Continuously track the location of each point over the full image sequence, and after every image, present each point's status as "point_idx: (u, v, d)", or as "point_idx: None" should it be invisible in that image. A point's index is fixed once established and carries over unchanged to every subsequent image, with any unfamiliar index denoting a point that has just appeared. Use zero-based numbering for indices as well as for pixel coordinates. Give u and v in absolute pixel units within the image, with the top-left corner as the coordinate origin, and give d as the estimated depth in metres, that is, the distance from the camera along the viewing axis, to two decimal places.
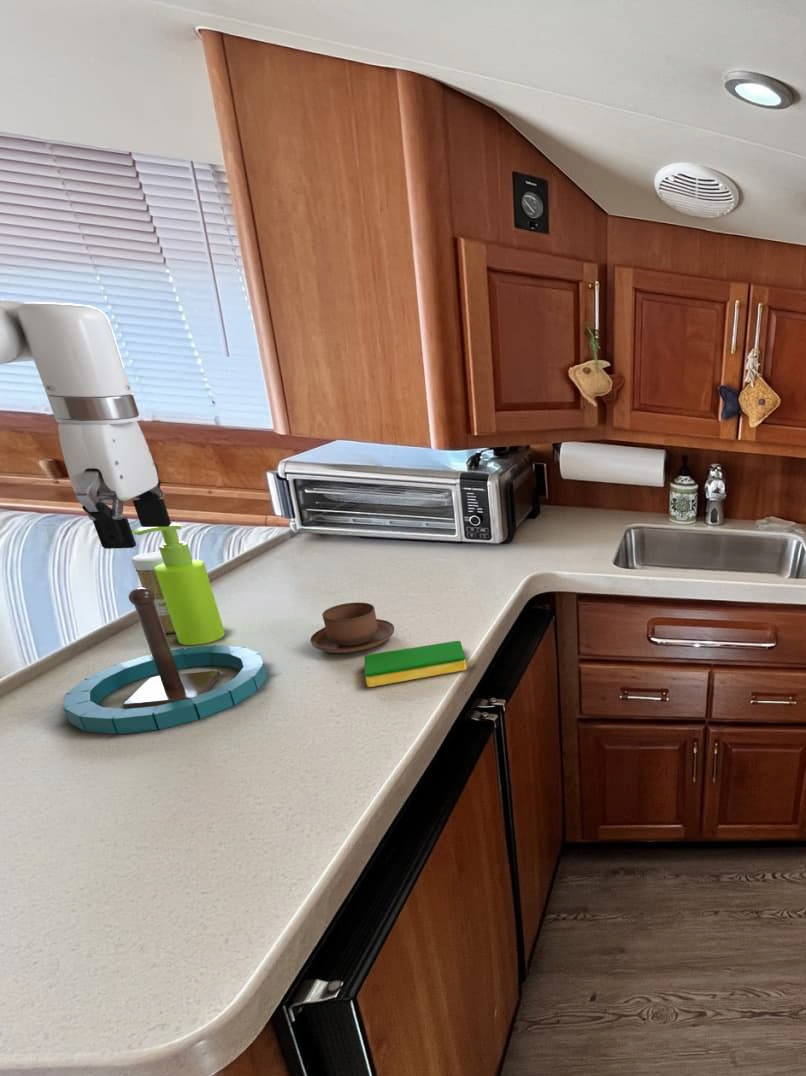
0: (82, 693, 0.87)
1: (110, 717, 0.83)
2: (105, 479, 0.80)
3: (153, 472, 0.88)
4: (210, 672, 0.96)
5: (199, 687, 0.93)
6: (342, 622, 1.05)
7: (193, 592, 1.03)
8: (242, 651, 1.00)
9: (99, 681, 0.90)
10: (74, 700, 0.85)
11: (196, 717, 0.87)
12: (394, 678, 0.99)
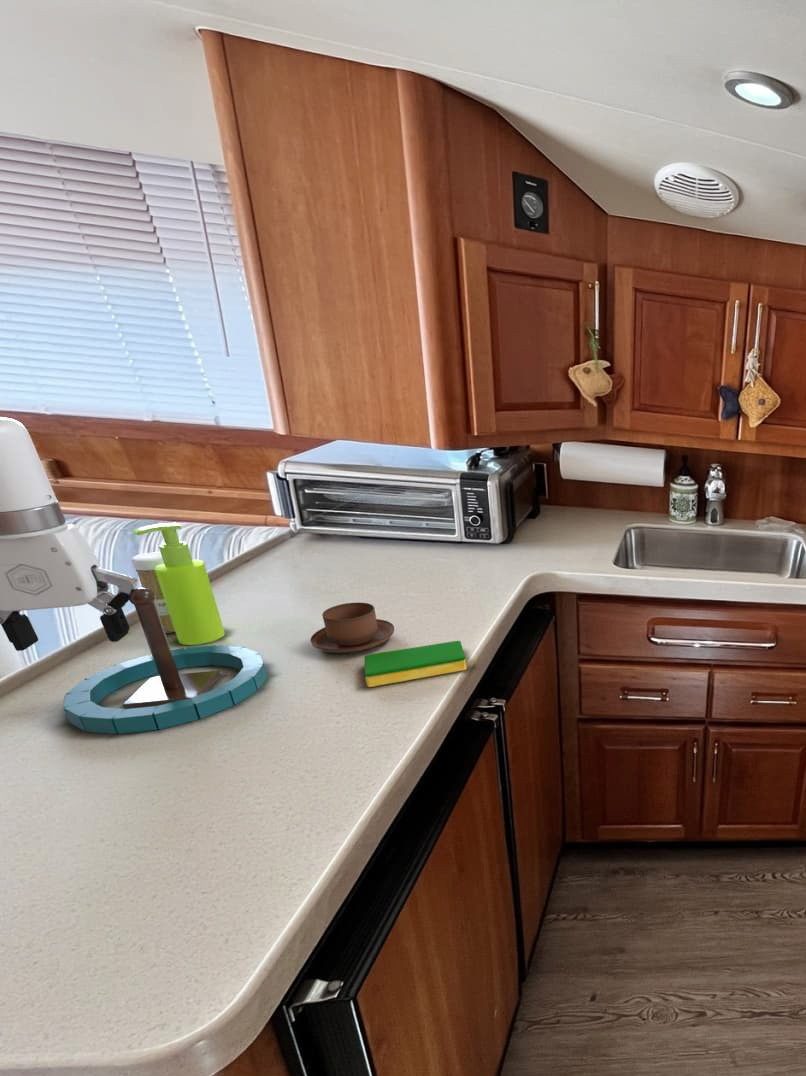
0: (82, 693, 0.87)
1: (110, 717, 0.83)
2: None
3: None
4: (210, 672, 0.96)
5: (199, 687, 0.93)
6: (342, 622, 1.05)
7: (193, 592, 1.03)
8: (242, 651, 1.00)
9: (99, 681, 0.90)
10: (74, 700, 0.85)
11: (196, 717, 0.87)
12: (394, 678, 0.99)
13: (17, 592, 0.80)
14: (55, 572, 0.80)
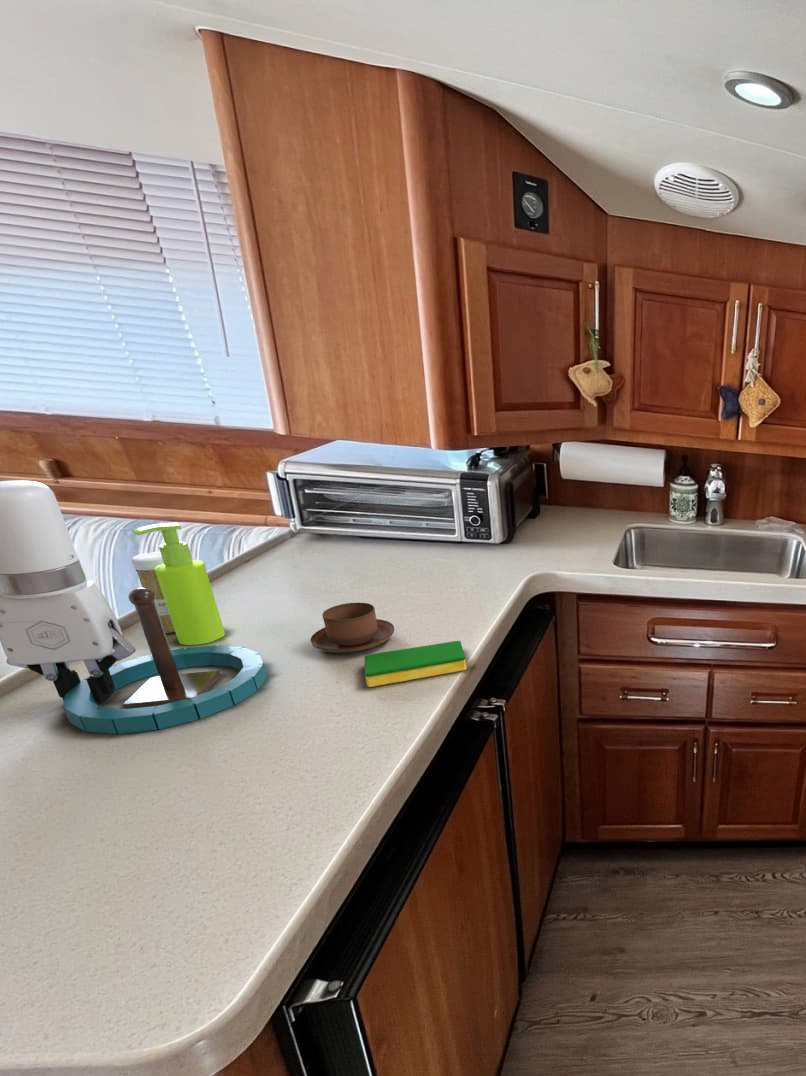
0: (82, 693, 0.87)
1: (110, 717, 0.83)
2: (115, 627, 0.88)
3: None
4: (210, 672, 0.96)
5: (199, 687, 0.93)
6: (342, 622, 1.05)
7: (193, 592, 1.03)
8: (242, 651, 1.00)
9: None
10: (74, 700, 0.85)
11: (196, 717, 0.87)
12: (394, 678, 0.99)
13: (36, 647, 0.83)
14: (74, 628, 0.83)
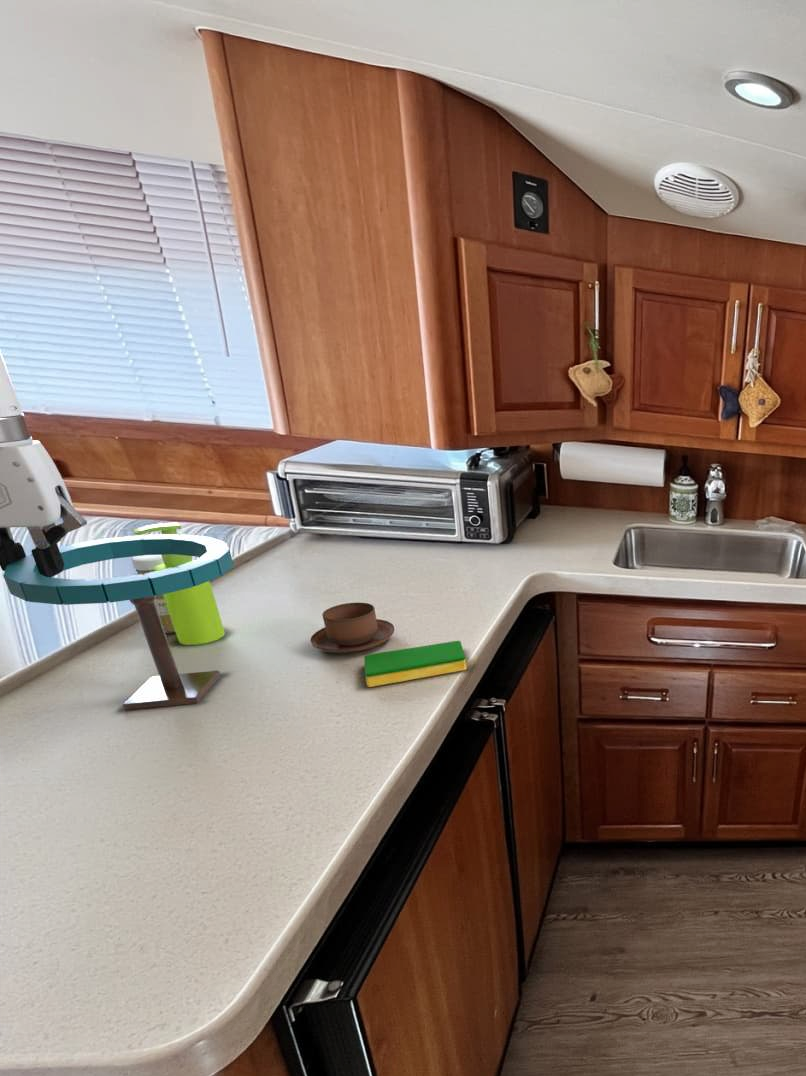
0: (26, 565, 0.79)
1: (54, 585, 0.75)
2: (64, 495, 0.81)
3: None
4: (210, 672, 0.96)
5: (199, 687, 0.93)
6: (342, 622, 1.05)
7: (193, 592, 1.03)
8: (207, 539, 0.93)
9: None
10: (16, 570, 0.78)
11: (151, 593, 0.80)
12: (394, 678, 0.99)
13: None
14: (16, 488, 0.76)
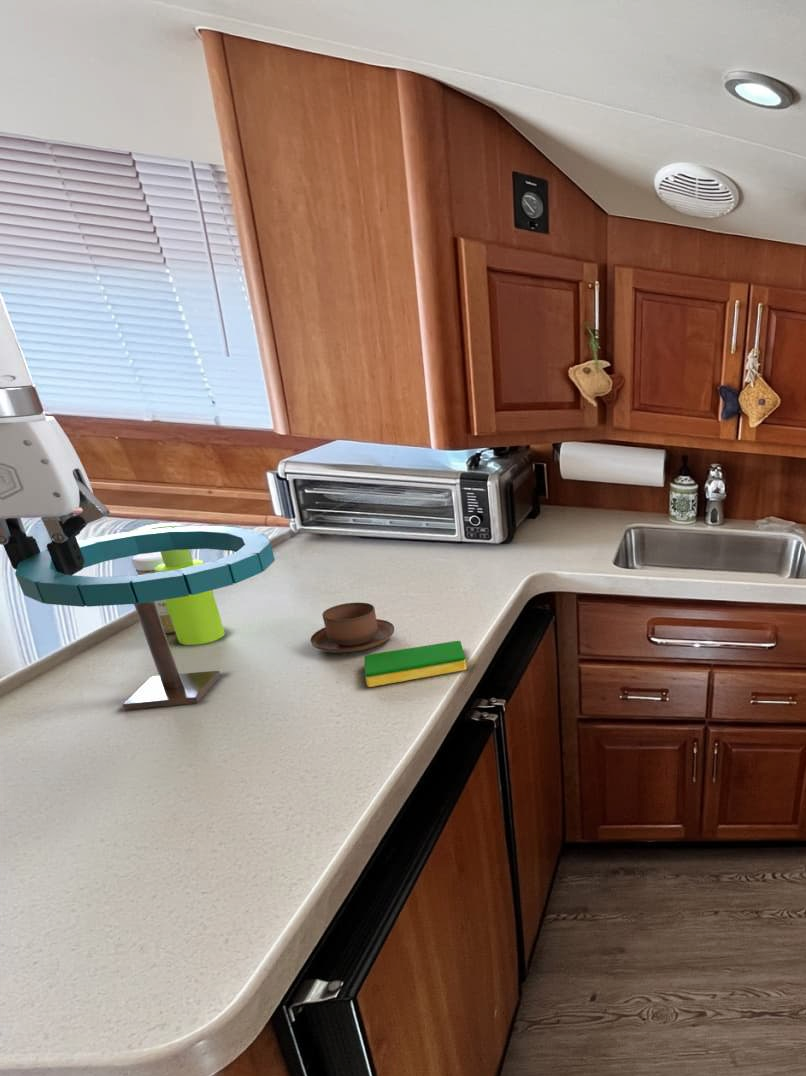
0: (41, 562, 0.68)
1: (75, 583, 0.64)
2: (83, 481, 0.69)
3: None
4: (210, 672, 0.96)
5: (199, 687, 0.93)
6: (342, 622, 1.05)
7: None
8: (243, 531, 0.82)
9: None
10: (30, 568, 0.67)
11: (186, 592, 0.69)
12: (394, 678, 0.99)
13: None
14: (28, 471, 0.65)
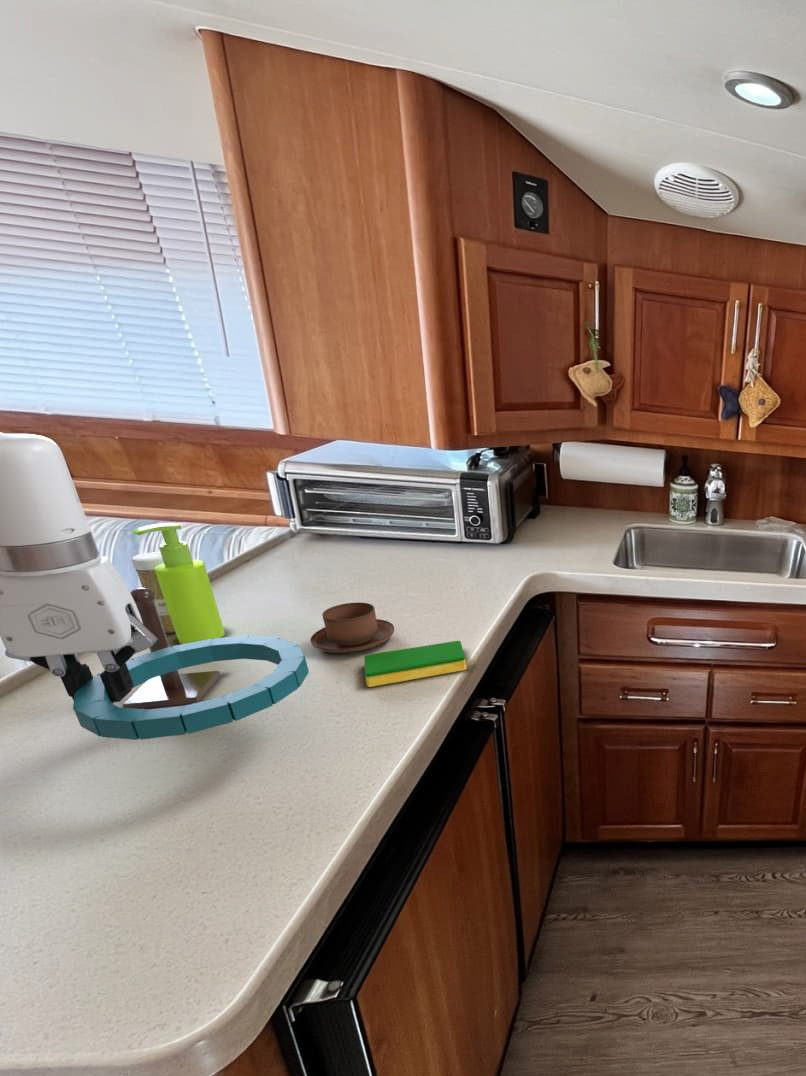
0: (95, 691, 0.73)
1: (129, 719, 0.69)
2: (133, 613, 0.74)
3: None
4: (210, 672, 0.96)
5: (199, 687, 0.93)
6: (342, 622, 1.05)
7: (193, 592, 1.03)
8: (278, 642, 0.86)
9: None
10: (86, 699, 0.71)
11: (231, 719, 0.73)
12: (394, 678, 0.99)
13: (40, 636, 0.69)
14: (85, 613, 0.70)
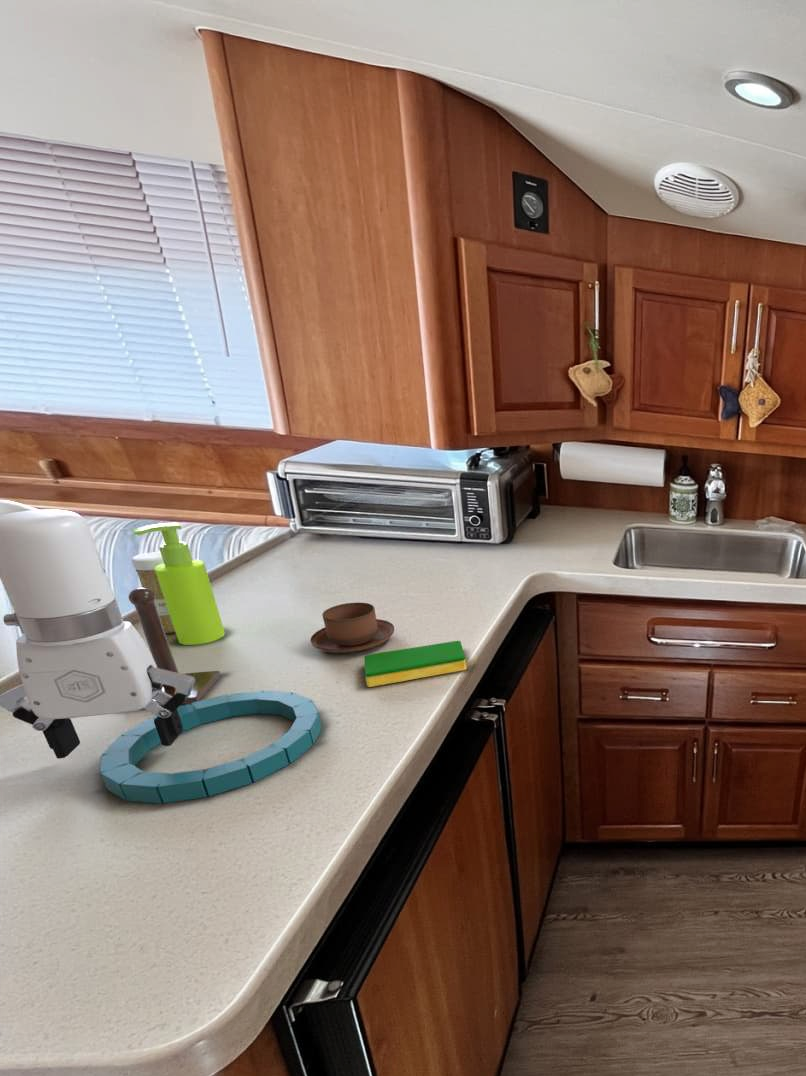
0: (120, 754, 0.76)
1: (154, 784, 0.72)
2: None
3: None
4: (210, 672, 0.96)
5: (199, 687, 0.93)
6: (342, 622, 1.05)
7: (193, 592, 1.03)
8: (293, 698, 0.90)
9: (138, 738, 0.79)
10: (112, 763, 0.75)
11: (249, 780, 0.77)
12: (394, 678, 0.99)
13: (66, 699, 0.72)
14: (109, 678, 0.73)
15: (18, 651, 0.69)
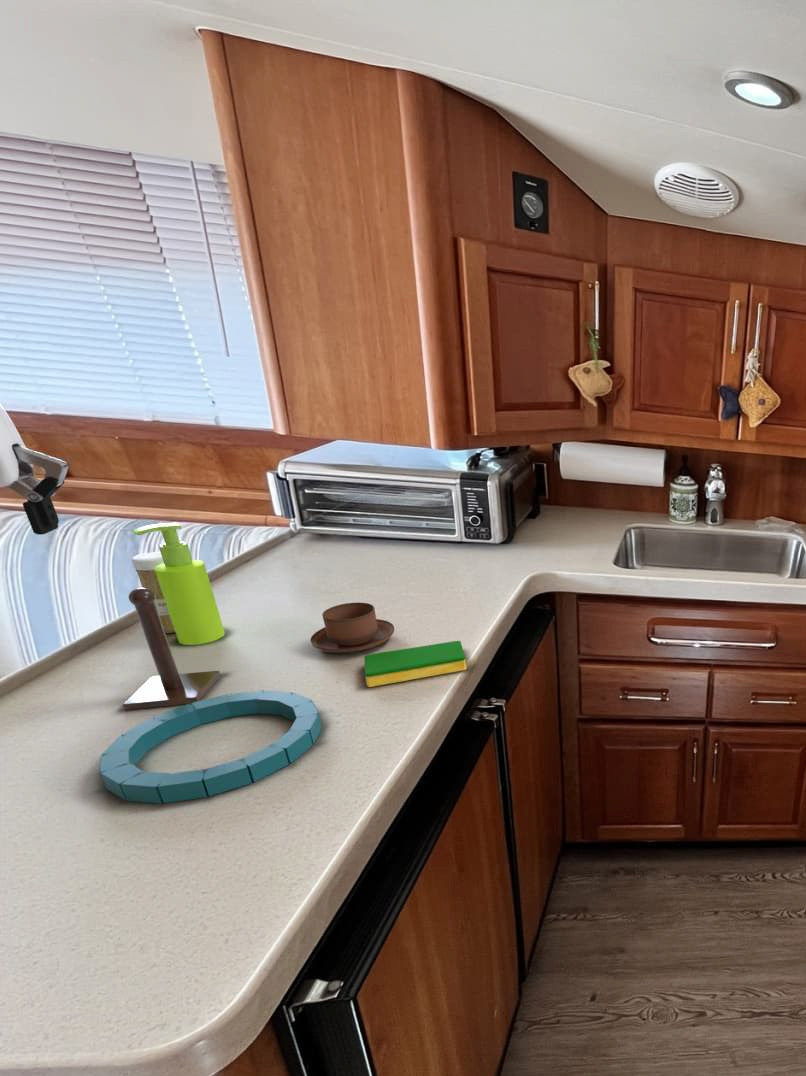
0: (120, 754, 0.76)
1: (154, 784, 0.72)
2: None
3: None
4: (210, 672, 0.96)
5: (199, 687, 0.93)
6: (342, 622, 1.05)
7: (193, 592, 1.03)
8: (293, 698, 0.90)
9: (138, 738, 0.79)
10: (112, 763, 0.75)
11: (249, 780, 0.77)
12: (394, 678, 0.99)
13: None
14: None
15: None
